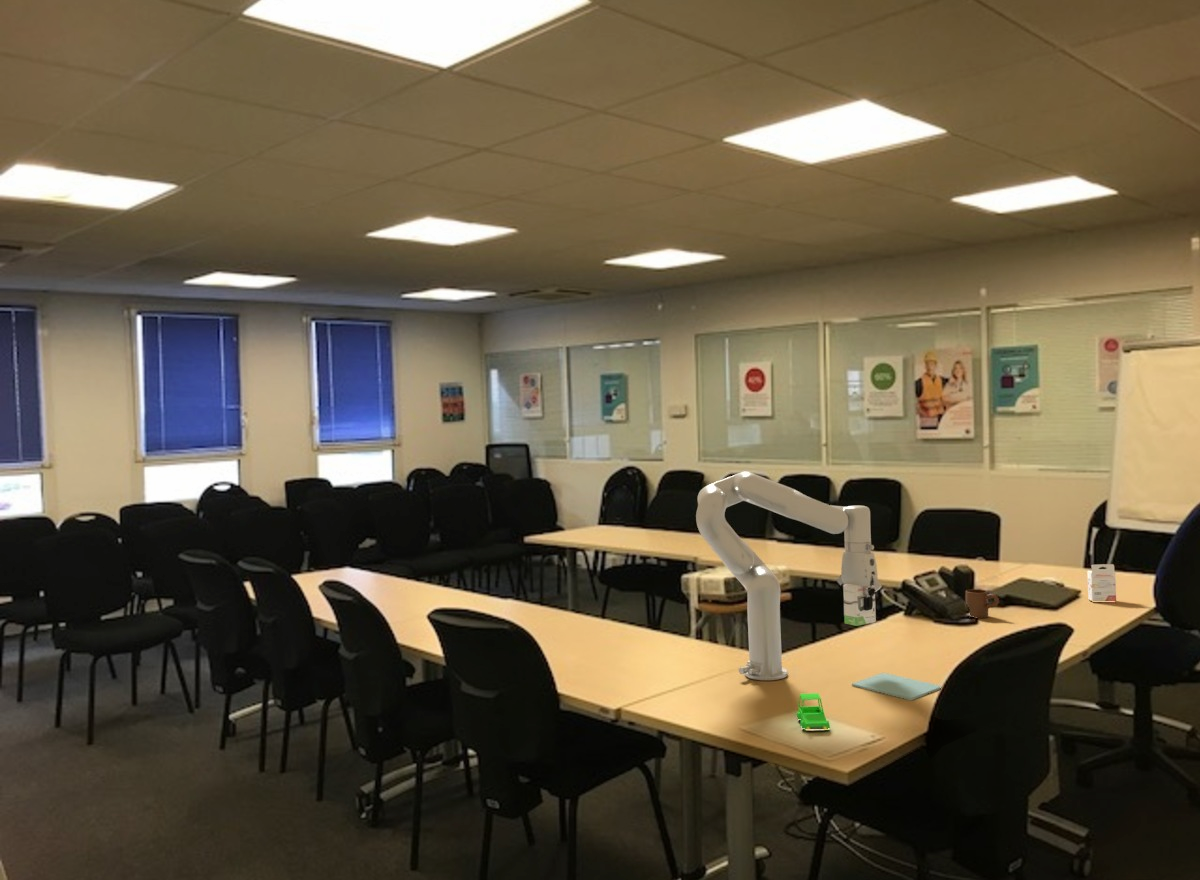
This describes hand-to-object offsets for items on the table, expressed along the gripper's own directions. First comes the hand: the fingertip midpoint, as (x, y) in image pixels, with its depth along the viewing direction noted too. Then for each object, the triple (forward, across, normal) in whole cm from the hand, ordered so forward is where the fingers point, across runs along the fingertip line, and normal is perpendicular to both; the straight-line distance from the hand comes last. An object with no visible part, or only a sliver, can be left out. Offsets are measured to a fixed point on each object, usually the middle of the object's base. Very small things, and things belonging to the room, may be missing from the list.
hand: (859, 607), depth 274 cm
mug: (+19, +9, -86) cm, 89 cm away
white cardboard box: (+5, 0, 0) cm, 5 cm away
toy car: (+20, -19, +46) cm, 54 cm away
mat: (+19, -16, +6) cm, 26 cm away
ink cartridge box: (+19, -10, -138) cm, 140 cm away
